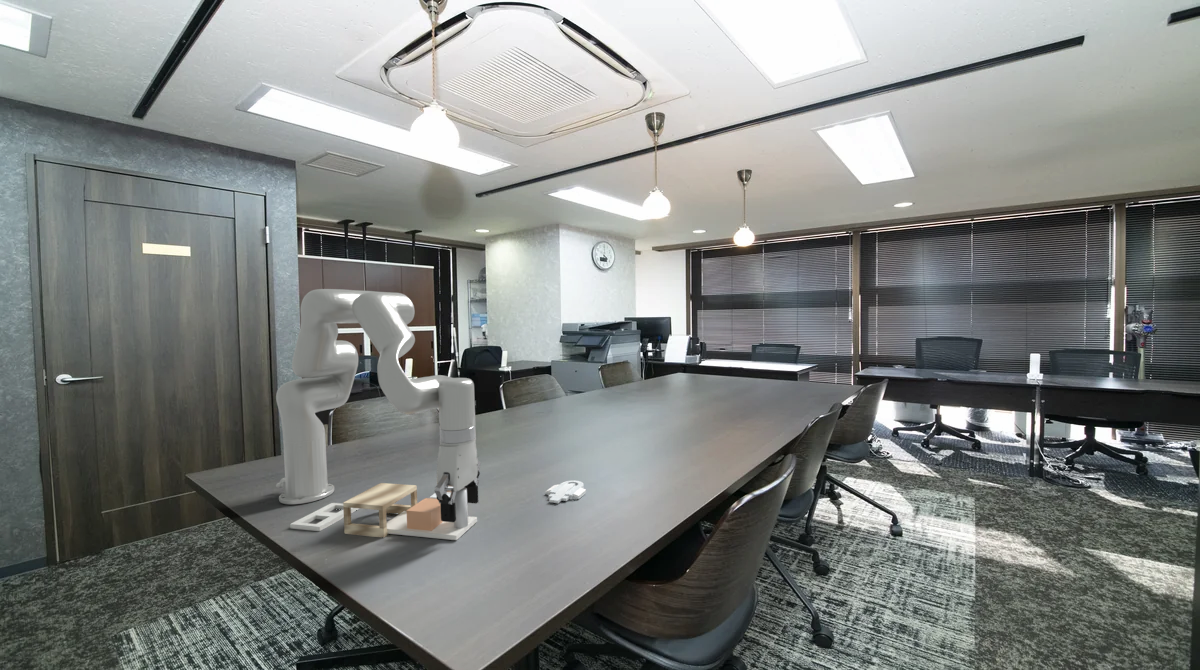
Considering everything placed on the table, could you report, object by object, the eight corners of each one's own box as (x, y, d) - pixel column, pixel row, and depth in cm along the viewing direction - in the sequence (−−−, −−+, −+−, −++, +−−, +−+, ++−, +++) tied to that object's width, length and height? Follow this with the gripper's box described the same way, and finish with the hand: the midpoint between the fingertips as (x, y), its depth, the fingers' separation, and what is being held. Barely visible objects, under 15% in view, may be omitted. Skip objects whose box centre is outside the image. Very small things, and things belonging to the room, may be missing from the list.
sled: (378, 532, 101) (376, 492, 101) (404, 515, 110) (403, 477, 110) (456, 540, 97) (455, 498, 97) (477, 521, 106) (475, 482, 106)
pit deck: (290, 528, 105) (290, 523, 105) (332, 506, 117) (331, 502, 117) (319, 531, 103) (319, 526, 103) (359, 508, 115) (358, 505, 115)
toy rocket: (571, 508, 114) (570, 499, 113) (536, 503, 117) (536, 494, 117) (597, 486, 128) (596, 478, 128) (565, 482, 132) (565, 474, 132)
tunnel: (344, 533, 102) (343, 502, 101) (381, 510, 113) (380, 482, 113) (384, 537, 99) (382, 505, 99) (417, 514, 111) (416, 485, 111)
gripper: (462, 424, 110) (465, 495, 111) (418, 445, 93) (422, 528, 94) (491, 426, 109) (493, 497, 109) (452, 446, 92) (455, 531, 92)
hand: (460, 511), depth 102 cm, fingers open, 9 cm apart
